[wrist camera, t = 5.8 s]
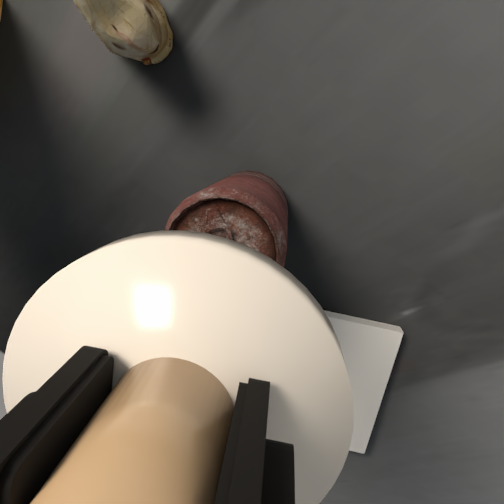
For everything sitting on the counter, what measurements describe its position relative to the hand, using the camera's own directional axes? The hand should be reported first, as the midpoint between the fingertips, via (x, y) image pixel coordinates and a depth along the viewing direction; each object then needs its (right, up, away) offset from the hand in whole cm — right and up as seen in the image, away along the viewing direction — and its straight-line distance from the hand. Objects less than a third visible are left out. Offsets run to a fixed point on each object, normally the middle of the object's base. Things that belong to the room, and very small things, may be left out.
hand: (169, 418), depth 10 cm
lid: (0, 0, +1) cm, 1 cm away
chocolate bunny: (-7, +21, +20) cm, 29 cm away
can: (+2, +7, +22) cm, 24 cm away
